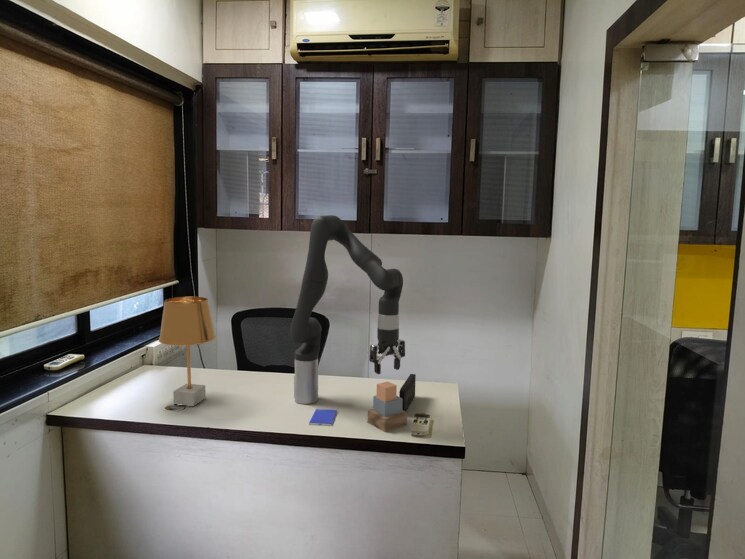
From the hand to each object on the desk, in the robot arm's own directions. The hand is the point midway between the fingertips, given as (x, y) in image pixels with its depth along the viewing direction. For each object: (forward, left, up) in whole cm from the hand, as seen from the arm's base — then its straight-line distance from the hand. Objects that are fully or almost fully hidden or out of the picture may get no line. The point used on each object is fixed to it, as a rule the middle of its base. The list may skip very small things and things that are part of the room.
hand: (387, 371), depth 181 cm
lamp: (-62, -49, -20) cm, 82 cm away
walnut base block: (0, +1, -20) cm, 20 cm away
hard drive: (-18, -15, -20) cm, 31 cm away
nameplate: (-9, +18, -20) cm, 28 cm away
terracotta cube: (0, 0, -10) cm, 10 cm away
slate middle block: (0, +1, -15) cm, 15 cm away
